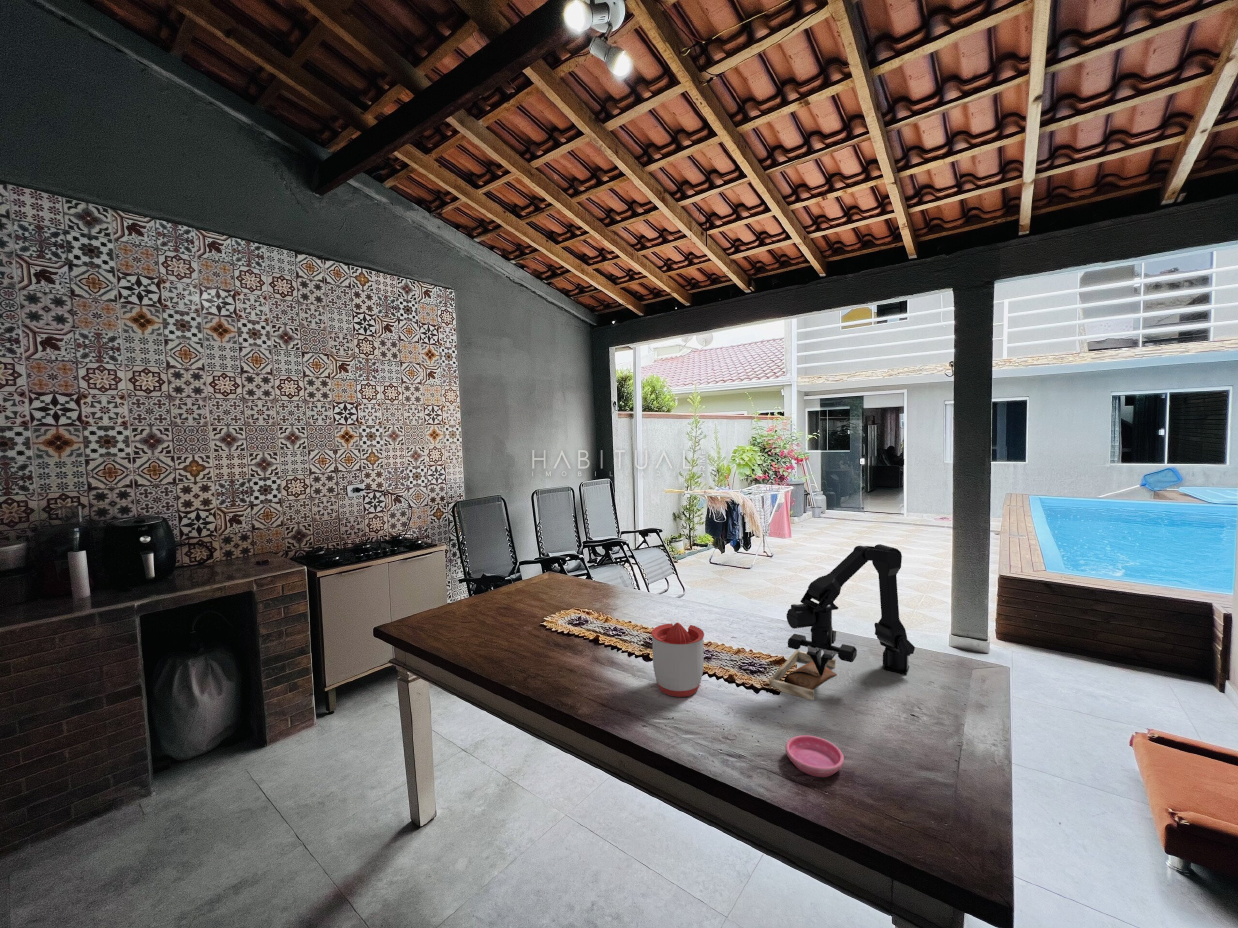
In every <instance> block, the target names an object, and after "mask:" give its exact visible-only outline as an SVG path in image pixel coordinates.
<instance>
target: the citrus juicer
mask: <svg viewBox="0 0 1238 928" xmlns="http://www.w3.org/2000/svg"><path fill="white" fill-rule="evenodd" d="M651 636H652V666H653V672H654V676H655V681H656V684H657V687H658V689H659V690H660V691H661V692H662V693H663V694H665V695H668V696H672V697H678V698H684V697H690V696H692V695H694V694H696V693H697V692H698V690H699V687H700V685H701V682H702V677H703V673H704V661H705V660H704V655H705V654H704V638H705V632H704V630H702V629H701V627H699V626H696V625H692V624H690V625H689V627H688V628H687V629H686V628H685V627H684V626H683V625H682V624H681V623H680V622H674V624H673V623H665V624H661V625H658V626H656V627H654V628H653V629H652V630H651Z"/></svg>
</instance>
